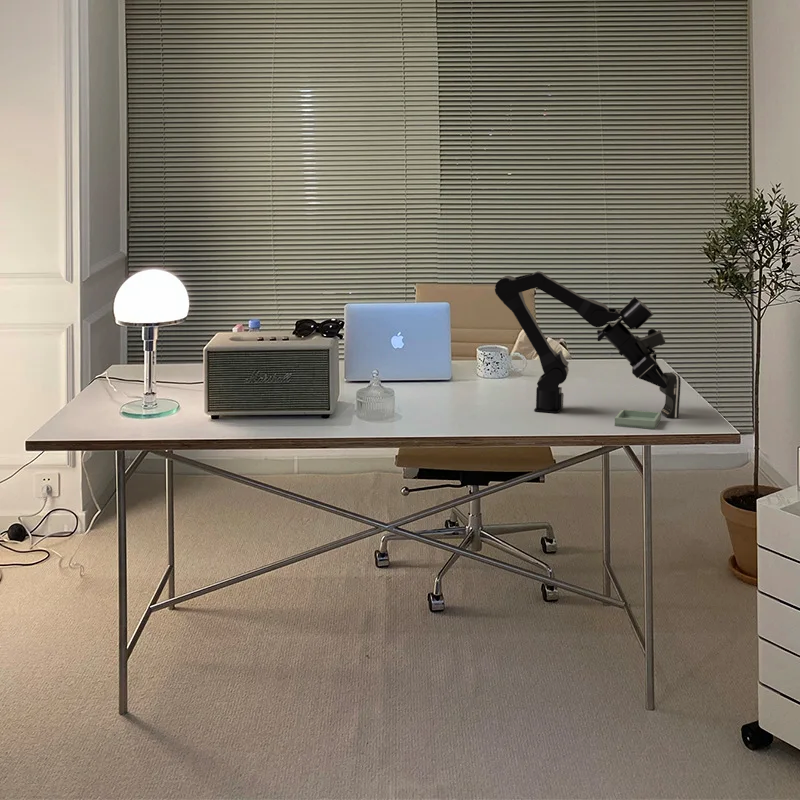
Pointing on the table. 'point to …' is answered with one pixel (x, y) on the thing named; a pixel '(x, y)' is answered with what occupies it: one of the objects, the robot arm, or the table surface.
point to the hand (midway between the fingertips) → (665, 383)
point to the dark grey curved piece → (671, 394)
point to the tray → (638, 419)
